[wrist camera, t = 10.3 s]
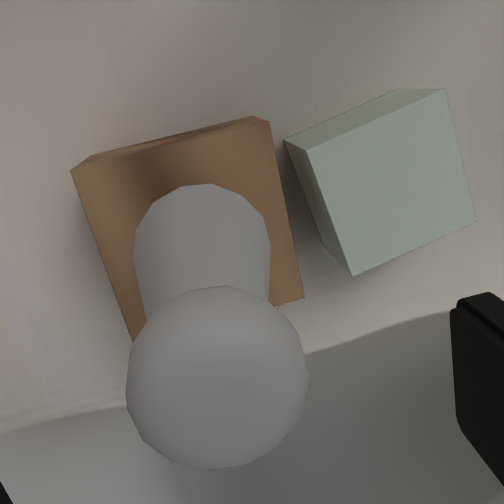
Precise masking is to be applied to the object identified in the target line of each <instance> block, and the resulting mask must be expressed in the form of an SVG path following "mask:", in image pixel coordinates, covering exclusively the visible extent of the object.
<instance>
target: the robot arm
mask: <svg viewBox="0 0 504 504" xmlns="http://www.w3.org/2000/svg"><path fill="white" fill-rule="evenodd" d="M450 328H451V345H452V359H453V374H454V375H453V376H454V390H455V406H456V417H457V421H458V424H459V426H460V428H461V430H462V432H463V434H464V435H465V436H466V438H467V439H468V440H469V442H470V443H471V444H472V446H473V447H474V448H475V449H476V451H477V452H478V453H479V455H480V456H481V457H482V459H483V460H484V461H485V463H486V464H487V465H488V467H489V468H490V469H491V470H492V472H493V473H494V474H495V476H496V477H497V478H498V480H499V481H500V482H501V483H502V485H503V486H504V301H502V300H501V299H500V298H498V297H497V296H496V295H494V294H492V293H490V292H485V293H481V294H477V295H473V296H470V297H466V298H462V299H460V300H458V302H457V305H456V308H454V309H452V310H451V311H450ZM0 504H13V503H12V501H11V499H10V498H9V496H8V494H7V492H6V491H5V489H4V487H3V485H2V484H1V482H0Z"/></svg>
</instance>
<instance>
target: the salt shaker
mask: <svg viewBox="0 0 504 504" xmlns="http://www.w3.org/2000/svg"><path fill="white" fill-rule="evenodd" d="M270 250H271V244H270V241H269V237H268V233H267V229H266V226H265V222H264V218H263V216H262V215H261V214H260V213H259V212H258V211H257V210H256V209H255V208H254V207H253V206H252V205H251V204H250V203H249V202H248V201H247V200H246V199H245V198H244V197H243V196H242V195H239V194H237V193H234V192H232V191H229V190H227V189H224V188H222V187H219V186H217V185H214V184H202V185H192V186H182V187H179V188H177V189H176V190H174V191H172V192H170V193H169V194H167V195H165V196H164V197H162V198H160V199H158V200H157V201H155V202H154V203H153V204H152V205H151V207H150V208H149V210H148V211H147V213H146V215H145V216H144V218H143V219H142V221H141V222H140V224H139V226H138V227H137V229H136V234H135V244H134V255H133V261H134V266H135V270H136V275H137V279H138V284H139V288H140V293H141V297H142V302H143V306H144V311H145V315H146V320H147V323H146V324H145V326H144V327H143V329H142V330H141V332H140V333H139V335H138V336H137V338H136V339H135V341H134V342H133V346H132V349H131V353H130V356H129V366H128V375H127V384H126V400H127V409H128V412H129V413H130V416H131V418H132V420H133V422H134V424H135V426H136V428H137V430H138V432H139V434H140V435H141V437H142V439H143V441H144V442H145V443H147V444H148V445H149V446H151V447H152V448H153V449H155V450H156V451H157V452H159V453H160V454H162V455H163V456H164V457H166V458H167V459H168V460H170V461H171V462H173V463H178V464H183V465H188V466H194V467H198V468H203V469H208V470H212V469H219V468H226V467H233V466H240V465H245V464H248V463H250V462H251V461H253V460H255V459H257V458H258V457H260V456H262V455H264V454H265V453H267V452H269V451H270V450H272V449H274V448H276V447H278V446H279V445H280V444H281V443H282V442H283V441H284V440H285V438H286V437H287V436H288V435H289V434H290V432H291V431H292V430H293V429H294V427H295V426H296V425H297V424H298V423H299V422H300V420H301V419H302V418H303V415H304V410H305V406H306V401H307V397H308V392H309V387H310V379H309V373H308V367H307V363H306V360H305V356H304V352H303V349H302V345H301V341H300V338H299V334H298V333H297V331H296V330H295V328H294V327H293V325H292V324H291V322H290V321H289V320H288V319H287V318H286V317H285V316H283V315H282V314H281V313H280V312H279V311H278V310H277V309H276V308H275V307H274V306H273V305H272V304H271V303H270V302H269V275H270Z"/></svg>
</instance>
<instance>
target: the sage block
mask: <svg viewBox="0 0 504 504" xmlns="http://www.w3.org/2000/svg"><path fill="white" fill-rule="evenodd" d="M284 141H285V144H286V147H287V149H288V152H289V154H290V157H291V160H292V162H293V165H294V168H295V170H296V173H297V175H298V178H299V181H300V183H301V186H302V189H303V191H304V194H305V196H306V199H307V202H308V204H309V207H310V210H311V212H312V215H313V217H314V220H315V223H316V225H317V228H318V230H319V233H320V236H321V238H322V241H323V244H324V246H325V247H326V249H327V250H328V251H329V252H330V253H331V254H332V255H333V256H334V257H335V258H336V259H337V261H338V262H339V263H340V264H341V265H342V266H343V267H344V268H345V269H346V270H347V272H348V273H349V274H350V275H351V276H352V277H354V276H356V275H358V274H360V273H363V272H365V271H367V270H369V269H372V268H374V267H376V266H378V265H381V264H383V263H385V262H387V261H390V260H392V259H394V258H396V257H399V256H401V255H403V254H405V253H408V252H410V251H412V250H414V249H416V248H419V247H421V246H423V245H425V244H428V243H430V242H432V241H434V240H437V239H439V238H441V237H443V236H446V235H448V234H450V233H452V232H455V231H457V230H459V229H461V228H464V227H466V226H468V225H470V224H472V223H475V222H477V220H476V216H475V212H474V208H473V204H472V200H471V195H470V191H469V187H468V183H467V179H466V175H465V170H464V166H463V162H462V158H461V154H460V150H459V146H458V141H457V137H456V133H455V129H454V125H453V121H452V116H451V112H450V108H449V104H448V100H447V96H446V92H445V89H396V90H394V91H392V92H389V93H387V94H385V95H383V96H381V97H378V98H376V99H374V100H372V101H369V102H367V103H365V104H363V105H360V106H358V107H356V108H354V109H351V110H349V111H347V112H345V113H343V114H340V115H338V116H336V117H334V118H331V119H329V120H327V121H325V122H322V123H320V124H318V125H316V126H313V127H311V128H309V129H307V130H305V131H302V132H300V133H298V134H296V135H293V136H291V137H289V138H287V139H284Z"/></svg>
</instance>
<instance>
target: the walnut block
mask: <svg viewBox="0 0 504 504" xmlns="http://www.w3.org/2000/svg"><path fill="white" fill-rule="evenodd" d="M70 172H71V175H72V178H73V181H74V183H75V186H76V189H77V192H78V194H79V197H80V200H81V202H82V205H83V208H84V211H85V213H86V216H87V219H88V222H89V224H90V227H91V230H92V233H93V235H94V238H95V241H96V244H97V246H98V249H99V252H100V255H101V257H102V260H103V263H104V265H105V268H106V271H107V274H108V276H109V279H110V282H111V285H112V287H113V290H114V293H115V296H116V298H117V301H118V304H119V307H120V309H121V312H122V315H123V318H124V320H125V323H126V326H127V328H128V331H129V334H130V337H131V339H132V342H134V341H135V339H136V338H137V336H138V335H139V333H140V332H141V330H142V329H143V327H144V326H145V324H146V323H147V320H146V315H145V311H144V306H143V302H142V297H141V293H140V288H139V284H138V279H137V275H136V270H135V266H134V261H133V255H134V244H135V234H136V229H137V227H138V226H139V224H140V222H141V221H142V219H143V218H144V216H145V215H146V213H147V211H148V210H149V208H150V207H151V205H152V204H153V203H154V202H155V201H157V200H158V199H160V198H162V197H164V196H165V195H167V194H169V193H170V192H172V191H174V190H176V189H177V188H179V187H182V186H192V185H202V184H214V185H217V186H219V187H222V188H224V189H227V190H229V191H232V192H234V193H237V194H239V195H242V196H243V197H244V198H245V199H246V200H247V201H248V202H249V203H250V204H251V205H252V206H253V207H254V208H255V209H256V210H257V211H258V212H259V213H260V214H261V215H262V216H263V218H264V222H265V226H266V229H267V233H268V237H269V241H270V244H271V250H270V275H269V302H270V303H271V304H272V305H273V306H277V305H280V304H284V303H288V302H292V301H295V300H299V299H303V298H304V293H303V288H302V283H301V278H300V273H299V268H298V263H297V258H296V254H295V249H294V244H293V239H292V234H291V229H290V224H289V219H288V214H287V209H286V204H285V199H284V195H283V190H282V185H281V180H280V175H279V170H278V165H277V160H276V155H275V150H274V145H273V141H272V136H271V131H270V126H269V122H268V121H265V120H263V119H260V118H257V117H254V116H250V117H246V118H242V119H238V120H234V121H230V122H226V123H222V124H217V125H213V126H209V127H205V128H201V129H197V130H193V131H189V132H185V133H181V134H177V135H173V136H168V137H164V138H160V139H156V140H152V141H148V142H144V143H140V144H136V145H132V146H128V147H124V148H119V149H115V150H111V151H107V152H103V153H99V154H95V155H91V156H89V157H88V158H87V159H85V160H84V161H83V162H81V163H80V164H78V165H77V166H76V167H74V168H73V169H72V170H70Z"/></svg>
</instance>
